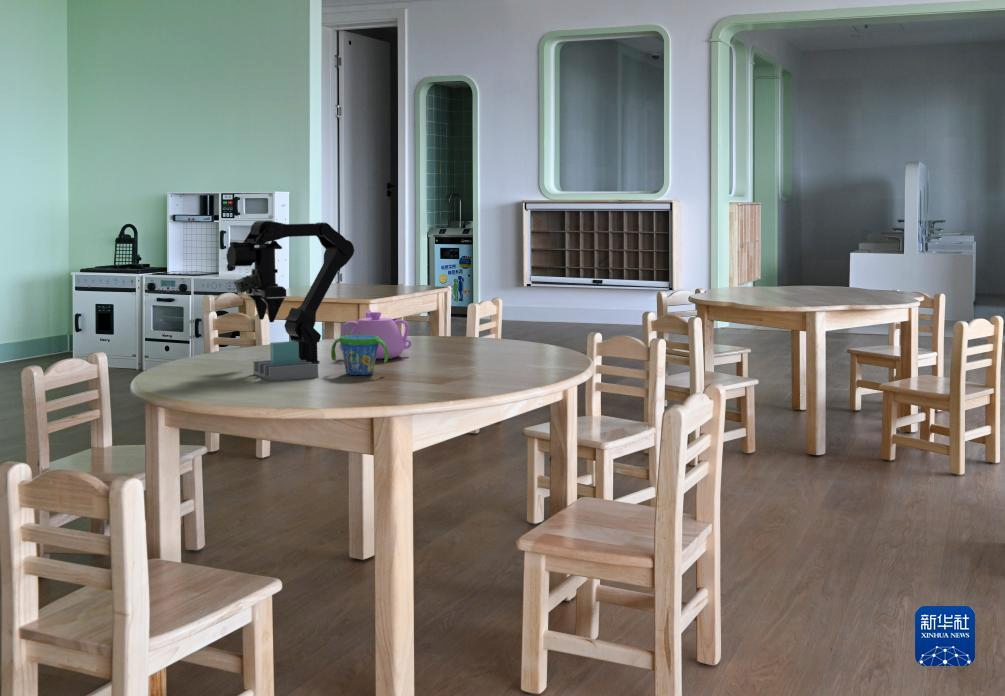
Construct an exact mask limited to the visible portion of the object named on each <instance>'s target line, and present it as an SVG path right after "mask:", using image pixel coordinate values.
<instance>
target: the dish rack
mask: <svg viewBox="0 0 1005 696" xmlns="http://www.w3.org/2000/svg"><path fill="white" fill-rule="evenodd" d="M252 363H253V375H255V376H258V377H260V378H261V379H262V378H263V379H265V380H267V381H270V382H275V381H278V382H279V381H289V380H302V379H313V378H314V379H316V378H319V363H312V362H306V360H301V358H299V363H287V364H273V365H271V359H268V360H267V359H266V360H254V361H252Z"/></svg>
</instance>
